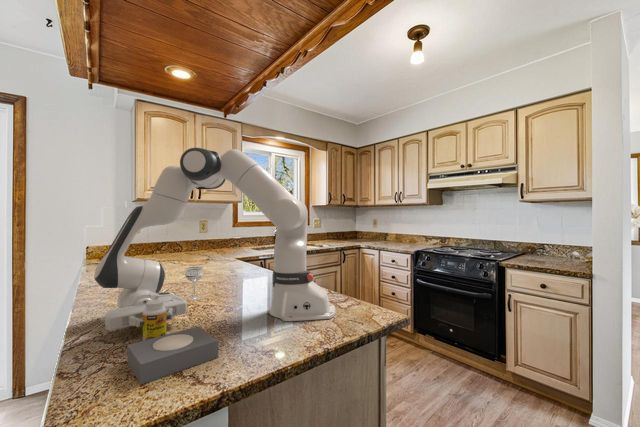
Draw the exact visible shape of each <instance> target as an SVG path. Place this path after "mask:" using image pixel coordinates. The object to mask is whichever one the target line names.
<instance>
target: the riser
mask: <svg viewBox="0 0 640 427" xmlns="http://www.w3.org/2000/svg"><path fill="white" fill-rule="evenodd" d="M126 356H127V357H126V359H127V360H126V362H127V364H128V366H129V367H130V370H131V371H132V373H133V374H134V376H135V377H136V379H137V381H138V383H139V384H140V385H144V384H146V383H149V382H152V381H155V380H158V379H161V378H164V377H166V376H169V375H173V374H175V373H178V372H181V371H183V370H186V369H189V368H192V367H195V366H197V365H201V364H203V363H206V362H209V361H212V360H215V359H218V358H219V340H218V339H217V338H215V337H214V336H213V335H211V334H210V333H208V332H207V331H206V330H204V329H203V328H201V327H200V326H198V325H197V326H194V327H190V328H187V329H181V330H179V331H175V332H171V333H166V335H163V336H160V337H156V338H152V339H148V340H144V341H143V340H141V341H137V342H133V343H131V344H127V345H126Z"/></svg>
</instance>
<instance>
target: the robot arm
mask: <svg viewBox="0 0 640 427" xmlns="http://www.w3.org/2000/svg"><path fill="white" fill-rule="evenodd" d="M226 181H228V182H230V183H231V184H232V185H233V186H234V187H236V189H238V191H239V192H241V193H242V194H243V195H245V196H246V198H247V199H249V200H250V201H251V202H252V203H253V204H254V205H255V206H256V207H257V208H258V209H259V211H261V213H262V214H263V215H264V216H265V217H266V218H267V220H269V221H270V222H271V223H272V224H273V226H275V228H276V231H275V232H276V233H275V242H274V246H273V257H274V258H273V271H272V279H271V280H272V282H271V283H272V287H273V291H272V293H273V294H272V297H271V298H272V300H271V304H270V308H269V311H268V312H269V315H270V316H272V317H275V318H278V319H280V320H281V321H283V322H298V321H299V322H302V321H313V320H314V321H315V320H329V319H332V318H334V316H335V315H336V307H335V305H334V304H332V303H330V301H329V296H328V294H327V291H326V290H325V289H324V288H322V287H321V286H319V285H318V284H317V283H316V282H314V281H313V279H314V274H313V272H312V270H308V269H307V244H308V223H309V222H308V221H309V220H308V219H309V215H308V214H309V211H308V208H307V206H306V205H305V203H304V202H303V201H301V200H299V199H297V198H296V197H295V196H294V195H293V194H292V193H291V192H289V190H287V189H286V188H285V187H284V185H282V184H281V183H280V182H279V181H278V180H277V179H276V178H275V177H274V176H273V175H271V174H270V173H269V172H268V171H267V170H266V169H265V168H264V167H263V166H261V165H260V164H259V162H257V161H256V160H254V159H253V157H250V156H249V155H247V154H246V153H244V152H243V151H241V150H240V149H238V148H233V149H229V150H226V151H225V152H224V153H223V154H222V155H220V154H219V152H217V151H214V150H209V149H206V148H201V147H190V148H188V149H186V150H185V151H184V152H183V153H182V154H181V156H180V159H179V165H168V166H166V167H165V168H163V170H162V171H161V173H160V175H159V177H158V178H157V180H156V182H155V184H154V186H153V189H152V192H151V195H150V197H148V200H147V201H145V203H144V204H142V205H139V206H136V207H135V208H133V210H132V211H131V212H130V214H129V215H128V217H127V218H126V220H125V221H124V223H123V225H122V226H121V228H120V230H119V231H118V233H117V235H116V236H115V238H114V240H112V241H113V242H112V243H111V244H110V247H109V248H108V249H107V251H106V253H105V254H104V256H103V257H102V258H101V259H100V261H99V262H98V264H97V266H96V267H95V271H94V278H93V279H94V281H95V282H96V283H97V285H99V286H100V287H101V288H103V289H121V291H120V292H119V294H118V295H117V307H118V308H116V309H110V310H108V311H106V313H105V314H104V315H101V316H100V321H101V322H104V327H105V330H106V331H109V332H110V331H111V332H113V331H115V330H121V329H124V328H128V327H136V328H139V327H140V328H141V327H143V326H144V319H143V311H144V310H145V309H146V303H147V302H149V301H152V300H163V307H165V308H166V321H169V320H173V317H177V316H178V317H179V316H181V315H186V313H187V312H188V301H187V300H186V299H184V298H183V297H181V296H178V295H175V293H174V292H161V290H162V287H163V285H164V282H165V279H166V278H165V277H166V273H165V270H164V267H163V265H162V264H161V262H159V261H157V260H150V259H145V258H144V259H143V258H137V257H130V256H126V255H125V254H126V252H127V250H128V249H129V247H130V245H131V243H132V242H133V240H134V239H135V237H136V235H137V233H138V232H140V231H141V230H142V229H145V228H149V227H153V226H165V225H170V224H172V223H175V222H176V221H177V222H178V221H179V220H180V219H181V218H182V217H183V215H184V213H185V211H186V209H187V208H186V207H187V204H188V202H189V199H190V196H191V193H192V191H194V189H196V190H215V189H219V188H220V187H222V186H223V185H224V184H225V182H226Z"/></svg>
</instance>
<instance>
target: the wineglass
mask: <svg viewBox="0 0 640 427" xmlns="http://www.w3.org/2000/svg"><path fill="white" fill-rule="evenodd" d="M203 269H204V267H203V266H189V267H186V268H185V272H184V276H185V279H187V280H188V281H190V282H192V283H193V284H192V286H193V288H192V289H193V296H191V297H188V298H187V300H188V301H198V300H200V299H202V297H201V296H196V283H197V282H198V281H199V280H201V279H202V278H203V276H204V271H203Z"/></svg>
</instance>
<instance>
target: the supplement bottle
mask: <svg viewBox="0 0 640 427" xmlns="http://www.w3.org/2000/svg"><path fill="white" fill-rule="evenodd" d="M143 319H144V326H142V341H144V340H148V339H152V338H156V337H160V336H163V335H167V320H166V308H165V307H163V300H152V301H149V302H147V303H146V309H145V310H144V311H143Z"/></svg>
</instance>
